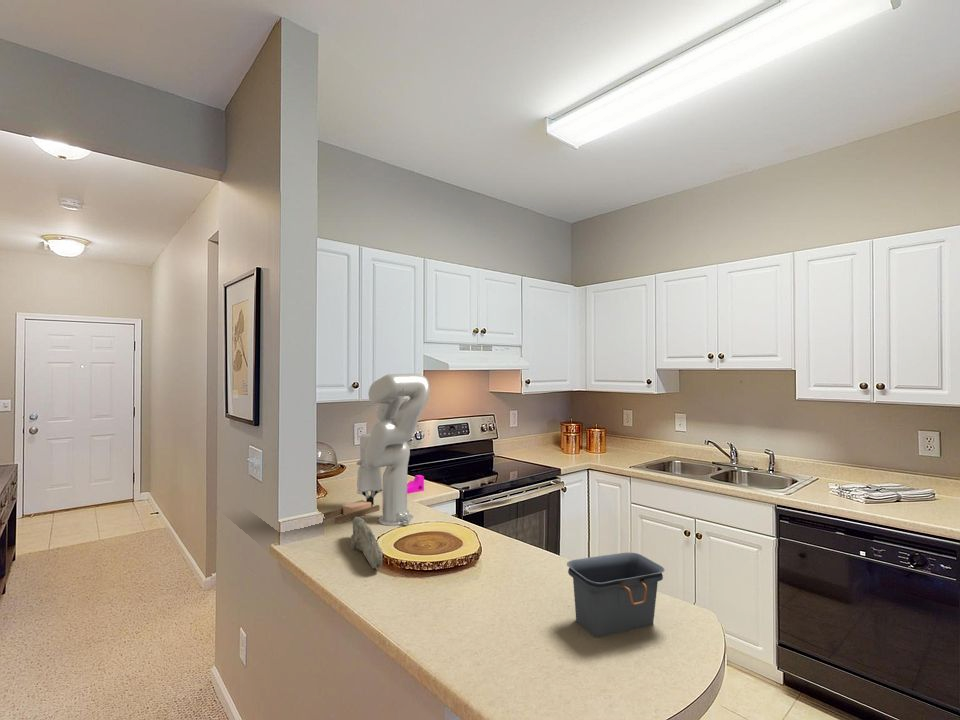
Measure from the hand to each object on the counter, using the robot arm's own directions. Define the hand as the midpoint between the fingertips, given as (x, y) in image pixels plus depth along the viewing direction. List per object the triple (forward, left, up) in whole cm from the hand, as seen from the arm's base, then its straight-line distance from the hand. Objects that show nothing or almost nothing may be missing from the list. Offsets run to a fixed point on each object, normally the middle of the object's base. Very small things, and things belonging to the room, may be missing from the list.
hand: (370, 506), depth 210 cm
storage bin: (-119, +26, -2) cm, 122 cm away
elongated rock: (-38, +34, -2) cm, 51 cm away
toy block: (+8, -29, -2) cm, 30 cm away
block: (+1, +6, -2) cm, 6 cm away
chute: (0, +10, -1) cm, 10 cm away
